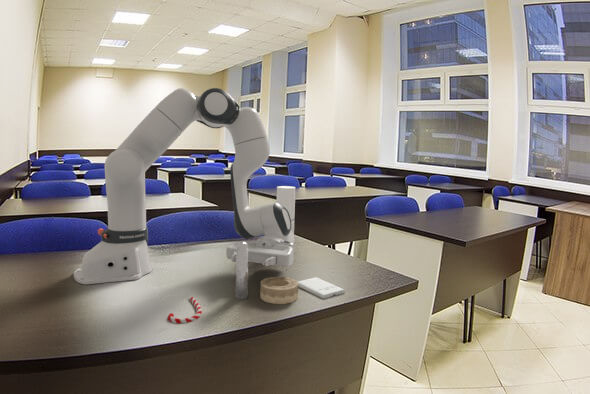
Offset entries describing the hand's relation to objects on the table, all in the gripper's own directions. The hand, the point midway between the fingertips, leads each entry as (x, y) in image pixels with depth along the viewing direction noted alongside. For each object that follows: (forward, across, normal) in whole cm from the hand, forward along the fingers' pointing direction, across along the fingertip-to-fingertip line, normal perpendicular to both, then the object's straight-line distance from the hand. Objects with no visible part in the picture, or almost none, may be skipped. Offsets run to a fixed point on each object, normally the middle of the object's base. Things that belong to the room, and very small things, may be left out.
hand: (248, 261), depth 118 cm
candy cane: (+18, -9, +10) cm, 22 cm away
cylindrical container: (-46, -6, +9) cm, 48 cm away
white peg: (+4, 0, +9) cm, 10 cm away
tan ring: (0, +9, +9) cm, 13 cm away
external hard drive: (-11, +18, +10) cm, 23 cm away
